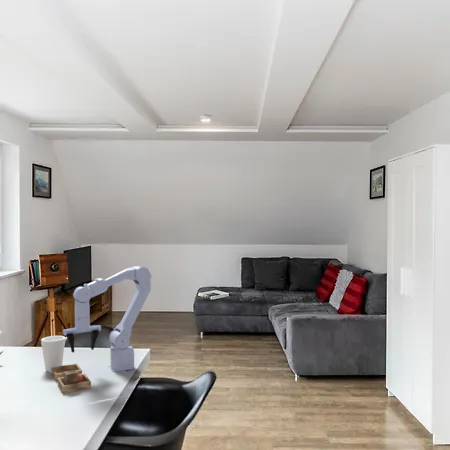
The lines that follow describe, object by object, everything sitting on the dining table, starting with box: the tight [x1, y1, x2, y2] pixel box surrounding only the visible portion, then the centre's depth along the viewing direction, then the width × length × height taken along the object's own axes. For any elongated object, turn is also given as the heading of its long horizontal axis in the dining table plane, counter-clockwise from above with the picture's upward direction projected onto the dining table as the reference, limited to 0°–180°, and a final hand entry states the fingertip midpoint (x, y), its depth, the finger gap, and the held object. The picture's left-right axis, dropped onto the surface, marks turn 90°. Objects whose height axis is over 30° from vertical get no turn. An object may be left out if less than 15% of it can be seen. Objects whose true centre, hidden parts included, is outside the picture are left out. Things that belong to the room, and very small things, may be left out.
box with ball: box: [57, 373, 92, 394], centre depth 168 cm, size 10×10×3 cm
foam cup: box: [40, 335, 66, 373], centre depth 190 cm, size 10×9×13 cm
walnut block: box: [64, 370, 78, 385], centre depth 166 cm, size 4×4×6 cm
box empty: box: [50, 363, 83, 382], centre depth 181 cm, size 10×10×3 cm
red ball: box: [78, 375, 83, 383], centre depth 170 cm, size 3×3×3 cm
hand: (82, 350), depth 182 cm, fingers open, 7 cm apart
